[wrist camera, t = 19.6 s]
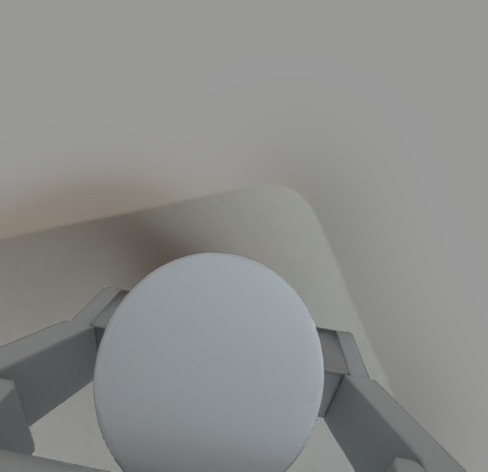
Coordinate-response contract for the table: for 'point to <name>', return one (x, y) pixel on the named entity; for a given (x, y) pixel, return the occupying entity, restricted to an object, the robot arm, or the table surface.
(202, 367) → the pill bottle
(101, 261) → the table surface
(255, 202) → the table surface
